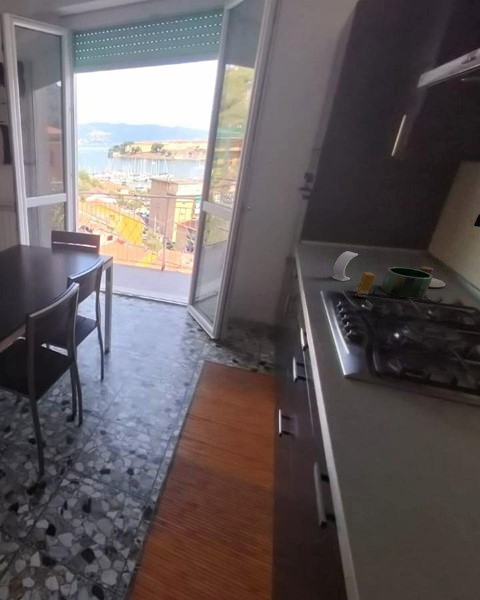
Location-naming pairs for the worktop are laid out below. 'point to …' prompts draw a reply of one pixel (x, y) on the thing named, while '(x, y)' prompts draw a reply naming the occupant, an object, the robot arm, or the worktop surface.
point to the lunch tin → (406, 282)
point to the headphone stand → (342, 265)
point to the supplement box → (365, 283)
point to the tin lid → (434, 282)
